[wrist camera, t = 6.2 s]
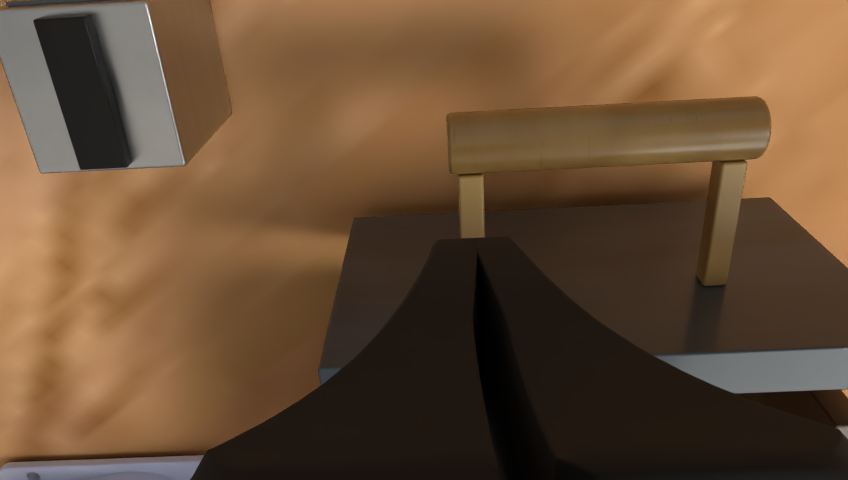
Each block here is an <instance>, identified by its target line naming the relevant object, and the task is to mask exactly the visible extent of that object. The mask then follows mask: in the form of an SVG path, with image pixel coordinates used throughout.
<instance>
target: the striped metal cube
mask: <svg viewBox="0 0 848 480" xmlns="http://www.w3.org/2000/svg"><path fill="white" fill-rule="evenodd" d="M6 4H7V5H5V6H1V7H0V59H1V62H2V65H3V68H4V71H5V74H6V76H7V79H8V82H9V85H10V88H11V91H12V94H13V97H14V99H15V102H16V105H17V108H18V111H19V114H20V117H21V120H22V123H23V125H24V128H25V131H26V134H27V137H28V140H29V143H30V146H31V148H32V151H33V154H34V157H35V160H36V163H37V166H38V169H39V171H40V173H62V172H81V171H100V170H119V169H138V168H158V167H177V166H185V165H187V164H188V162H189V161H190V160H191V159H192V158H193V157H194V156H195V155H196V153H197V152H198V151H199V150H200V149H201V148H202V147H203V146H204V144H205V143H206V142H207V141H208V140H209V139H210V138H211V137H212V135H213V134H214V133H215V132H216V131H217V130H218V129H219V128H220V126H221V125H222V124H223V123H224V122H225V121H226V120H227V119H228V117H229V116H230V115H231V113H232V111H231V106H230V101H229V96H228V91H227V86H226V81H225V75H224V70H223V65H222V60H221V55H220V50H219V45H218V40H217V35H216V30H215V25H214V20H213V14H212V9H211V4H210V0H12V1H9V2H6Z"/></svg>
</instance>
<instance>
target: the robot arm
mask: <svg viewBox="0 0 848 480" xmlns="http://www.w3.org/2000/svg"><path fill="white" fill-rule="evenodd" d="M0 480H848V439H847V438H846V436H845V435H844V434H843V433H842V432H841V431H840V430H839V429H836V428H833V427H830V426H827V425H824V424H821V423H818V422H815V421H812V420H808V419H805V418H802V417H799V416H796V415H793V414H790V413H787V412H784V411H781V410H777V409H774V408H771V407H768V406H765V405H762V404H759V403H757V402H754V401H751V400H749V399H746V398H744V397H742V396H739V395H737V394H734V393H732V392H729V391H727V390H724V389H722V388H719V387H717V386H714V385H712V384H710V383H708V382H705V381H703V380H701V379H699V378H697V377H694V376H692V375H690V374H688V373H686V372H684V371H682V370H680V369H678V368H676V367H674V366H672V365H670V364H669V363H667V362H665V361H663V360H661V359H659V358H657V357H655V356H653V355H651V354H650V353H648V352H646V351H644V350H643V349H641V348H639V347H638V346H636V345H634V344H633V343H631V342H630V341H628V340H627V339H625V338H623V337H622V336H620V335H619V334H617V333H616V332H614V331H613V330H611V329H610V328H608V327H607V326H605V325H604V324H602V323H601V322H600V321H598V320H597V319H596V318H594V317H593V316H592V315H590V314H589V313H588V312H587V311H585V310H584V309H583V308H582V307H580V306H579V305H578V304H577V303H575V302H574V301H573V300H572V299H571V298H570V297H568V296H567V295H566V294H565V293H564V292H563V291H562V290H561V289H560V288H559V287H558V286H557V285H556V284H555V283H554V282H553V281H551V280H550V279H549V278H548V277H547V276H546V275H545V274H544V273H543V272H542V270H541V269H540V268H539V267H538V266H537V265H536V264H535V263H534V262H533V261H532V260H531V259H530V258H529V257H528V255H527V254H526V253H525V252H524V251H523V250H522V249H521V247H520V246H519V245H518V244H517V243H516V242H515V241H514V240H513V239H512V238H511V237H510V236H506V237H482V238H459V239H438V240H437V241H436V242H435V243H434V244H433V245H432V248H431V252H430V254H429V257H428V259H427V261H426V263H425V265H424V267H423V269H422V271H421V272H420V274H419V276H418V278H417V279H416V281H415V282H414V284H413V286H412V287H411V289H410V291H409V292H408V294H407V295H406V297H405V298H404V300H403V301H402V303H401V304H400V305H399V307H398V308H397V309H396V310H395V312H394V313H393V314H392V316H391V317H390V318H389V320H388V321H387V322H386V324H385V325H384V326H383V327H382V328H381V330H380V331H379V332H378V333H377V334H376V335H375V337H374V338H373V339H372V340H371V341H370V342H369V343H368V344H367V345H366V346H365V347H364V348H363V349H362V350H361V351H360V352H359V353H358V354H357V355H356V356H355V357H354V358H353V359H352V360H351V361H350V362H349V363H348V364H346V365H345V366H344V367H343V368H342V369H340V370H339V371H338V372H337V373H336V374H334V375H333V376H332V377H331V378H330V379H328V380H327V381H326V382H325V383H323V384H322V385H321V386H319V387H318V388H317V389H315V390H314V391H312V392H311V393H309V394H308V395H307V396H305V397H304V398H302V399H301V400H299V401H298V402H296V403H295V404H293V405H291V406H290V407H288V408H287V409H285V410H284V411H282V412H280V413H279V414H277V415H275V416H274V417H272V418H270V419H269V420H267V421H265V422H263V423H261V424H259V425H258V426H256V427H254V428H252V429H250V430H248V431H246V432H244V433H242V434H240V435H238V436H236V437H234V438H233V439H231V440H229V441H227V442H225V443H223V444H221V445H219V446H217V447H215V448H212V449H210V450H208V451H207V452H206V453H205V454H204V455H195V456H168V457H140V458H113V459H86V460H59V461H32V462H9V463H6V464H4V465H3V466H2V468H1V469H0Z"/></svg>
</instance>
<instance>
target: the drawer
mask: <svg viewBox="0 0 848 480" xmlns="http://www.w3.org/2000/svg"><path fill="white" fill-rule="evenodd" d="M446 122H447V145H448V165H449V172H450V174H453V175H454V174H457V179H458V205H459V213H441V214H421V215H400V216H380V217H360V218H354V219H353V223H352V227H351V232H350V236H349V240H348V244H347V249H346V253H345V257H344V261H343V266H342V270H341V274H340V278H339V283H338V287H337V291H336V295H335V300H334V304H333V308H332V312H331V317H330V321H329V325H328V329H327V334H326V338H325V342H324V346H323V351H322V355H321V359H320V363H319V368H318V372H319V378H320V384H321V385H322V384H323V383H325V382H326V381H327V380H328V379H330V378H331V377H332V376H333V375H334V374H336V373H337V372H338V371H339V370H340V369H342V368H343V367H344V366H345V365H346V364H348V363H349V362H350V361H351V360H352V359H353V358H354V357H355V356H356V355H357V354H358V353H359V352H360V351H361V350H362V349H363V348H364V347H365V346H366V345H367V344H368V343H369V342H370V341H371V340H372V339H373V338H374V337H375V335H376V334H377V333H378V332H379V331H380V330H381V328H382V327H383V326H384V325H385V324H386V322H387V321H388V320H389V318H390V317H391V316H392V314H393V313H394V312H395V310H396V309H397V308H398V307H399V305H400V304H401V303H402V301H403V300H404V298H405V297H406V295H407V294H408V292H409V291H410V289H411V287H412V286H413V284H414V282H415V281H416V279H417V278H418V276H419V274H420V272H421V271H422V269H423V267H424V265H425V263H426V261H427V259H428V257H429V254H430V252H431V248H432V245H433V244H434V243H435V242H436V241H437V240H438V239H459V238H482V237H506V236H510V237H511V238H512V239H513V240H514V241H515V242H516V243H517V244H518V245H519V246H520V247H521V249H522V250H523V251H524V252H525V253H526V254H527V255H528V257H529V258H530V259H531V260H532V261H533V262H534V263H535V264H536V265H537V266H538V267H539V268H540V269H541V270H542V272H543V273H544V274H545V275H546V276H547V277H548V278H549V279H550V280H551V281H553V282H554V283H555V284H556V285H557V286H558V287H559V288H560V289H561V290H562V291H563V292H564V293H565V294H566V295H567V296H568V297H570V298H571V299H572V300H573V301H574V302H575V303H577V304H578V305H579V306H580V307H582V308H583V309H584V310H585V311H587V312H588V313H589V314H590V315H592V316H593V317H594V318H596V319H597V320H598V321H600V322H601V323H602V324H604V325H605V326H607V327H608V328H610V329H611V330H613V331H614V332H616V333H617V334H619V335H620V336H622V337H623V338H625V339H627V340H628V341H630V342H631V343H633V344H634V345H636V346H638V347H639V348H641V349H643V350H644V351H646V352H648V353H650V354H651V355H653V356H655V357H657V358H659V359H661V360H663V361H665V362H667V363H669V364H670V365H672V366H674V367H676V368H678V369H680V370H682V371H684V372H686V373H688V374H690V375H692V376H694V377H697V378H699V379H701V380H703V381H705V382H708V383H710V384H712V385H714V386H717V387H719V388H722V389H724V390H727V391H729V392H732V393H734V394H737V395H739V396H742V397H744V398H746V399H749V400H751V401H754V402H757V403H759V404H762V405H765V406H768V407H771V408H774V409H777V410H781V411H784V412H787V413H790V414H793V415H796V416H799V417H802V418H805V419H808V420H812V421H815V422H818V423H821V424H824V425H827V426H830V427H833V428H836V429H839V430H840V431H841V432H842V433H843V434H844V435H845V436H846V438H847V439H848V398H847V397H846V395H845V394H844V393H843V392H842V390H844V389H848V268H847V267H846V266H845V265H844V264H843V263H841V262H840V261H839V260H838V259H837V258H836V257H835V256H834V255H833V254H832V253H830V252H829V251H828V250H827V249H826V248H825V247H824V246H823V245H822V244H821V243H820V242H818V241H817V240H816V239H815V238H814V237H813V236H812V235H811V234H810V233H809V232H807V231H806V230H805V229H804V228H803V227H802V226H801V225H800V224H799V223H798V222H796V221H795V220H794V219H793V218H792V217H791V216H790V215H789V214H788V213H787V212H785V211H784V210H783V209H782V208H781V207H780V206H779V205H778V204H777V203H776V202H774V201H773V200H772V199H771V198H769V197H767V198H747V199H741V198H742V192H743V186H744V181H745V175H746V169H747V162H746V161H745V160H747V159H756V158H759V157H760V156H762V155H763V154H764V152H765V151H766V149H767V146H768V143H769V140H770V134H771V117H770V112H769V109H768V106H767V104H766V102H765V101H764V100H763V99H762V98H760V97H757V96H752V97H733V98H715V99H696V100H678V101H660V102H641V103H623V104H604V105H586V106H568V107H549V108H531V109H512V110H494V111H476V112H457V113H449V114H447V117H446ZM708 161H713V163H712V170H711V177H710V183H709V190H708V197H707V200H706V201H686V202H665V203H645V204H625V205H604V206H584V207H564V208H543V209H523V210H502V211H484V176H483V173H493V172H513V171H532V170H552V169H571V168H591V167H610V166H630V165H650V164H669V163H689V162H708Z"/></svg>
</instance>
